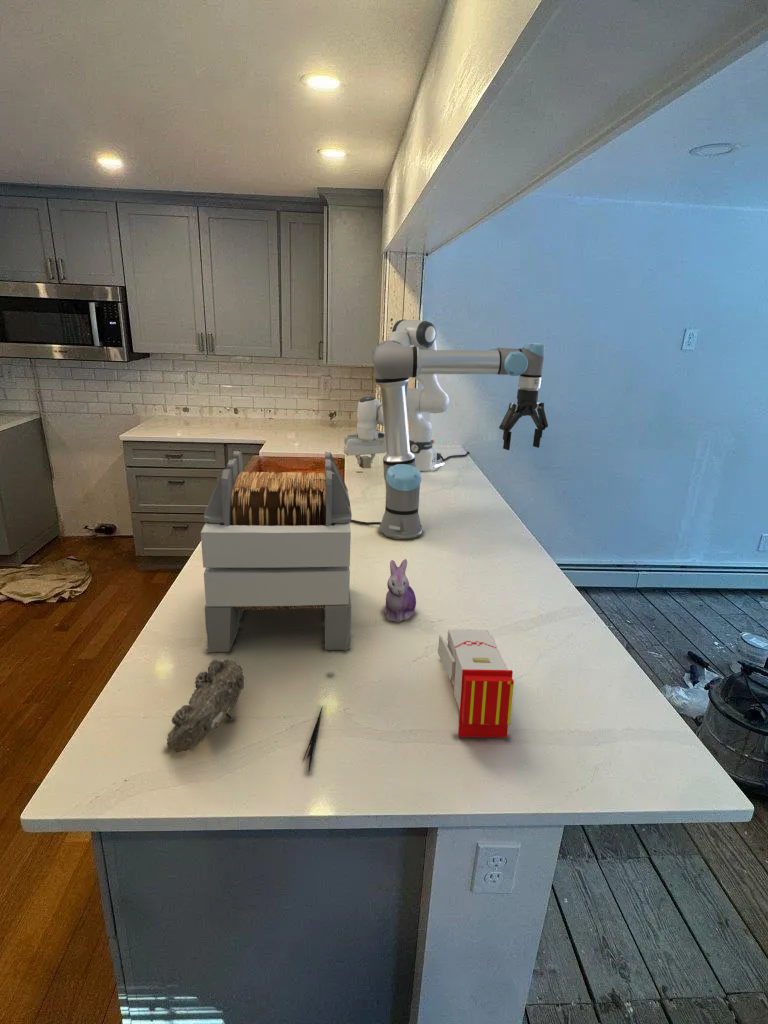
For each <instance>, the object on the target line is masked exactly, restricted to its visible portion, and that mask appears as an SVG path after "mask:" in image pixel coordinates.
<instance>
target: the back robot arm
mask: <svg viewBox="0 0 768 1024" xmlns="http://www.w3.org/2000/svg"><path fill="white" fill-rule="evenodd" d="M436 337H437V329H436V327H435V325H434V324H433V322H430V321H427V320H421V319H399V320H397V321H396V322H395V323H394V325H393V327H392V330H391V333H389V336H388V338H387V340H386V341H388V340H394V341H397V342H399V343H400V344H402V345H404V346H410V347H418V348H419V349H420V350H438V348H437V341H436ZM413 378H414V379H415V380H416V381H418V382H419V383H420V384H421V385H422V387H423V388H419V387H418V388H417V387H408V385H409V381H408V382H407V383H406V384H405V393H406V406H407V419H408V431H409V444H410V452H411V453H413V454H414V455H415V467H416V468H417V469H418V470H419V471H420V472H436V471H437V470H438V469H439V467H441V466H444V465H445V462H447V460H449V459H450V458H461V457H467V456H469V455H470V454H471V452H470V451H466V453H465V454H453V455H452V454H451V455H448V456H447V457H446V458H444V457H443V456H442V453H440V452H437V451H435V449H434V447H433V445H434V443H435V439H432V437H433V425H432V423H431V422H430V421H429V420H428V419H426V418H425V417H424V416H423V413H428V414H442V413H444V412H446V411H447V410H448V408H449V405H450V397H449V395H448V393H447V392H446V391H445V390H444V389H443V388H442V387H441V385H440V383H439V380H438V376H437V374H420V375H419V376H418V377H413ZM356 419H357V424H356V430H355V431H356V432H355V433H354V434H347V435H346V436H345V437H344V446H343V453H344V454H345V455H346V456H347V457H348V456H354V457H355V458H356V460H357V465H359V464H362V460H360V459H359V457H360V456H366V455H370V458H371V464H373V463H374V459H375V457H376V455H377V454H386V442H385V431H384V432H383V431H381V430H379V429H377V426H378V425H379V426H383V427H384V420H383V410H382V401H379V400H378V399H377V398H376V397H374V396H364V397H362V398H359V400H358V403H357V409H356ZM440 460H442V461H443V462H441V461H440Z"/></svg>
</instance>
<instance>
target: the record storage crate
mask: <svg viewBox="0 0 768 1024" xmlns="http://www.w3.org/2000/svg"><path fill="white" fill-rule="evenodd" d="M337 465H338V464H337V463H336V461H335V459H334V457H333V454H332V452H330V451H324V472H317V473H316V472H307V473H306V472H305V473H304V472H301V471H300V472H299V471H298V472H297V471H296V472H294V471H293V472H292V471H291V472H290V471H289V472H288V471H282V472H278V473H277V472H274V471H261V472H259V471H251V472H250V471H244V469H243V468H244V467H243V466H244V465H243V453H242V451H237V450H234V451H233V453H232V454H231V457H230V458H229V459H228V462H227V464H226V466H225V468H224V469H223V470H222V471H221V474H220V476H219V479H218V481H217V483H216V485H215V487H214V490H213V492H212V494H211V497H210V498H209V502H208V503H207V506H206V508H205V510H204V514H203V521H204V522H205V523H204V525H203V527H202V529H201V531H200V541H201V556H202V568H205V570H204V571H203V582H204V596H205V599H204V600H205V605H204V621H205V633H206V640H207V641H206V642H207V648H206V651H207V653H215V652H217V653H218V652H219V653H220V652H221V653H222V652H223V653H224V652H226V653H227V652H230V651H231V649H232V646H233V644H234V642H235V638H236V637H237V634H238V632H239V629H240V624H239V623H240V622H239V621H240V620H242V617H243V613H244V611H245V610H252V611H254V610H255V611H256V610H293V609H294V610H296V609H297V610H299V609H300V610H301V609H303V610H306V609H307V610H310V609H312V610H313V609H324V611H323V612H324V614H323V616H324V617H323V618H324V650H325V651H326V650H332V651H333V650H334V651H335V650H342V651H347V650H349V649H350V648H351V631H352V626H351V625H352V603H351V591H350V580H351V579H350V578H351V576H350V575H351V570H350V566H351V543H352V542H351V538H352V537H351V536H352V535H351V534H352V531H351V525H350V523H351V522H350V521H351V520H352V516H353V515H352V509H351V508H352V507H351V501H350V496H349V495H350V494H349V489H348V486H347V485H346V483H345V480H344V478H343V476H342V474H341V471H340V470H339V467H338V466H337Z"/></svg>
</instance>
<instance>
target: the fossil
mask: <svg viewBox="0 0 768 1024" xmlns="http://www.w3.org/2000/svg"><path fill="white" fill-rule="evenodd" d="M243 670H244V669H243V667H242V665H240V664H237V662H236V661H235V660H234V659H232V658H231V659H227V658H226V659H224V660H223V661H222V660H217V659H212V660H211V661H210V663H209V665H208V666H207V671H201V672H199V673H198V674H197V675H196V676H195V680H194V684H195V685H194V687H195V689H194V690H193V693H192V694H191V697H190V698H189V700H188V704H184V705H182V706H181V707H180V709H177V710H176V711H175V713H174V715H173V716H172V718H171V723H172V724H173V727H172V730H171V731H170V732H168V734H167V738H166V741H167V742H166V745H167V749H168V750H169V751H173V752H174V753H176V754H178V753H182V752H188V751H189V752H192V751H193V750H195V748H196V747H197V746H199V744H200V743H201V742H203V741H204V740H205V739H206V738H207V737H208V736H209V735H210V734H211V733H212V732H214V730H215V729H217V727H218V726H219V724H220V722H221V721H222V720H223V719H224V718H225V716H226V717H227V719H229V720H233V717H232V715H230V714H229V710H230V709H231V708H234V706H235V704H236V703H237V702H238V699H239V697H240V695H241V693H242V691H243V690H245V689H244V688H245V675H244V671H243Z"/></svg>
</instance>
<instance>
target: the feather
mask: <svg viewBox="0 0 768 1024" xmlns="http://www.w3.org/2000/svg"><path fill="white" fill-rule="evenodd" d="M329 675H330V676H331V675H332V674H331V673H330V674H329ZM322 710H323V707H321V708H320V710H319V713H318V716H317V719H316V723H315V725H314V728H313V731H312V733H311V737H310V739H309V742H308V745H307V748H306V751H305V754H304V757H303V760H302V763H301V767H302V765H303V763H304V761H305V758H308V759H309V760H308V762H307V763H308V764H307V766H308V771H310V770H311V766H312V765H311V764H312V760H313V757H315V756H314V755H315V751H316V749H315V746H317V739H318V733H319V729H320V722H321V717H322V712H323V711H322ZM313 754H314V755H313ZM306 755H307V757H306Z"/></svg>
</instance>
